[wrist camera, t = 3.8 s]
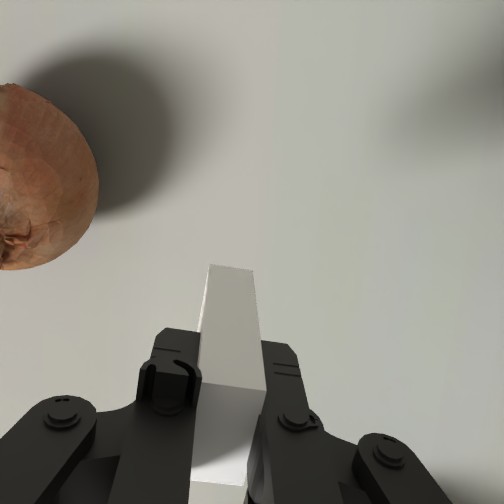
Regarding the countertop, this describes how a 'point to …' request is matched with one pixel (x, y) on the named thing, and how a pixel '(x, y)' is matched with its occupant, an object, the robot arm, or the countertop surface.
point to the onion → (41, 180)
